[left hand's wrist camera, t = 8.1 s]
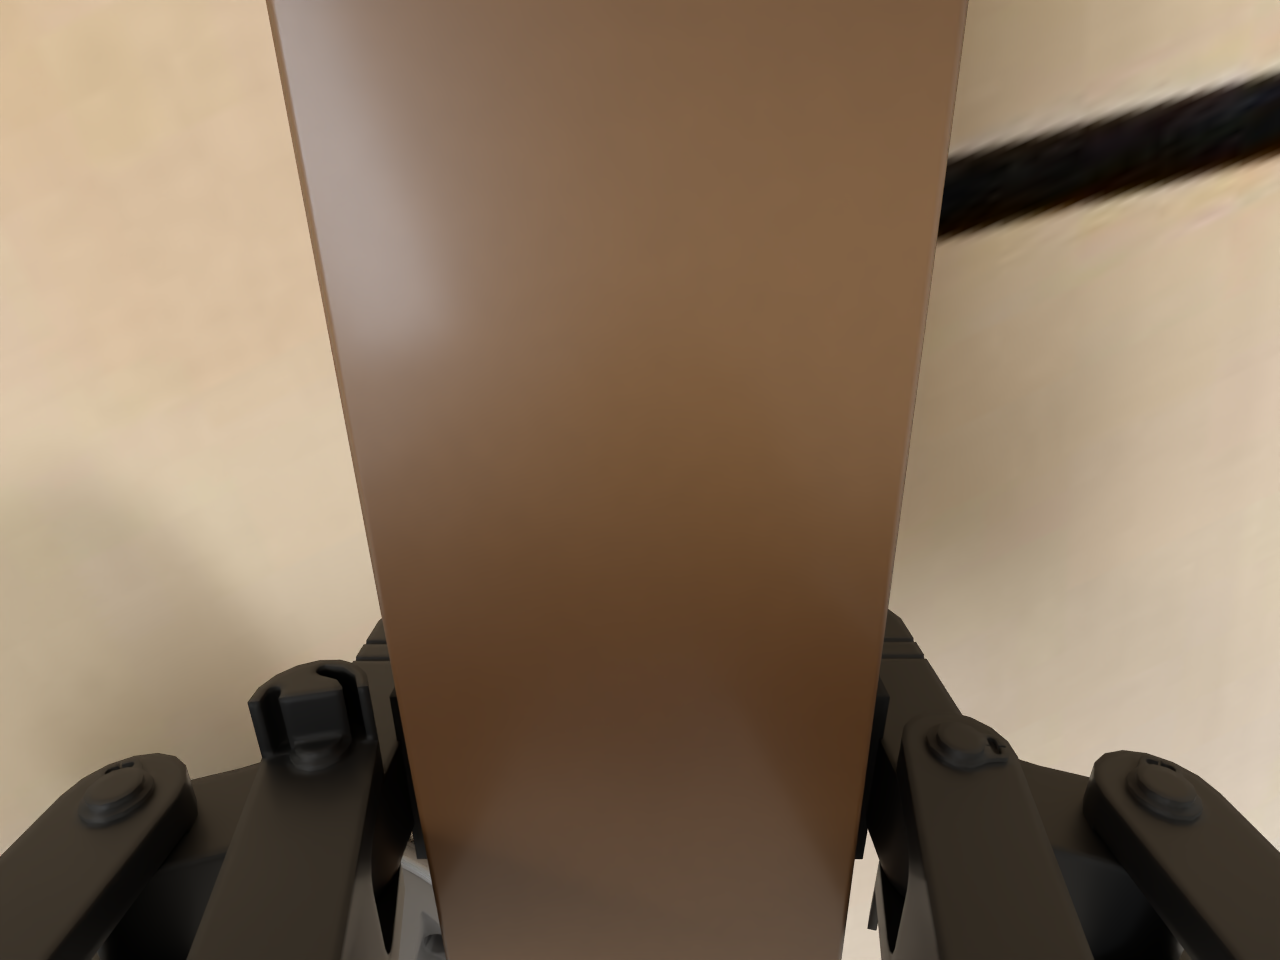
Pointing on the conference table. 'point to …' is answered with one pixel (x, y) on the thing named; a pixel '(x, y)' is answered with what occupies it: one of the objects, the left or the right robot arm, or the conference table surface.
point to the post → (629, 435)
